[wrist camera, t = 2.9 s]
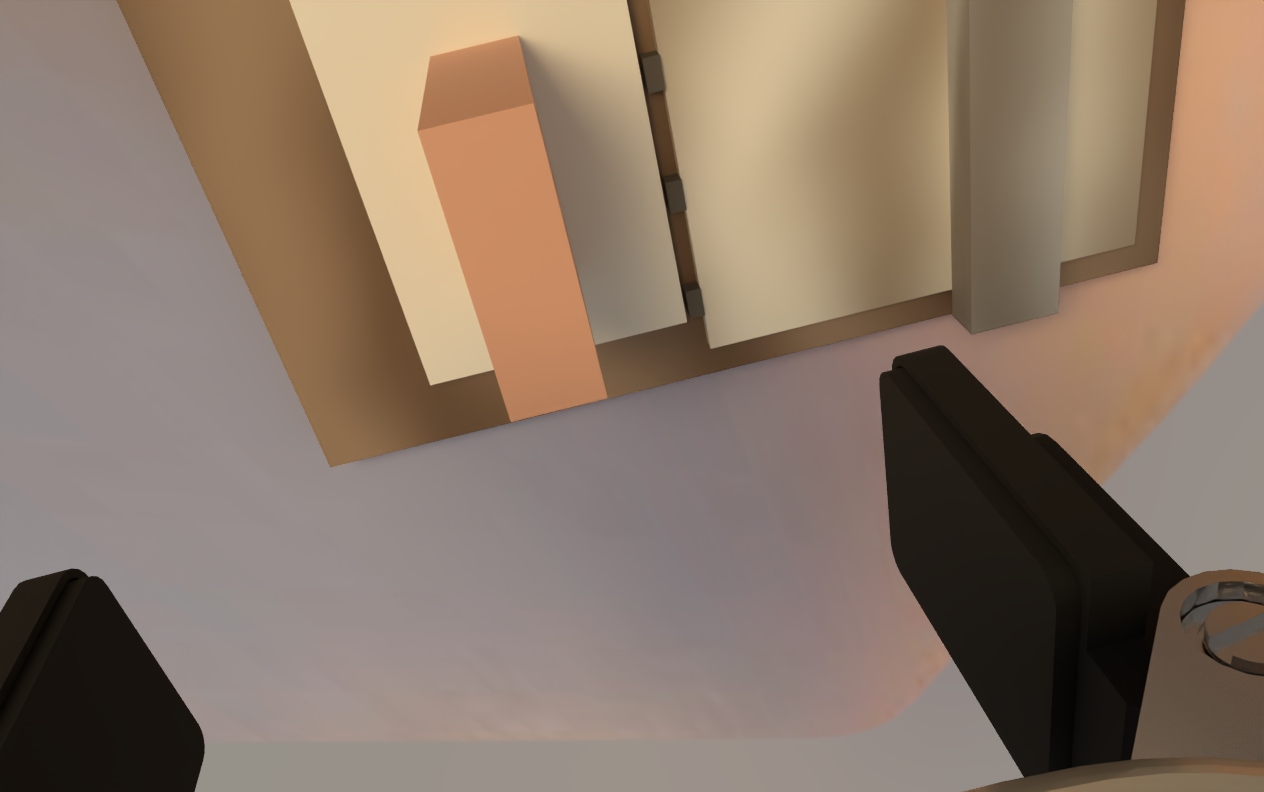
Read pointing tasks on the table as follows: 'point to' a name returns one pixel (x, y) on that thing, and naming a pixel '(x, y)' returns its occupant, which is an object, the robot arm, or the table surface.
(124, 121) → the table surface
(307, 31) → the stub
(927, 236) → the ticket board
